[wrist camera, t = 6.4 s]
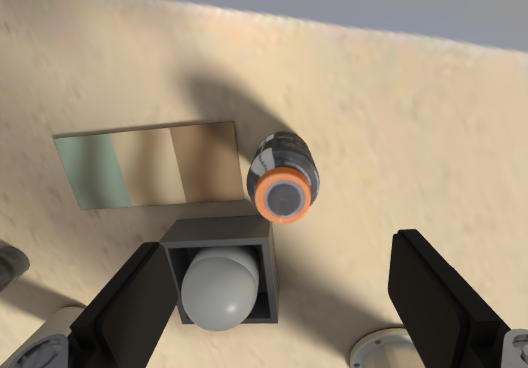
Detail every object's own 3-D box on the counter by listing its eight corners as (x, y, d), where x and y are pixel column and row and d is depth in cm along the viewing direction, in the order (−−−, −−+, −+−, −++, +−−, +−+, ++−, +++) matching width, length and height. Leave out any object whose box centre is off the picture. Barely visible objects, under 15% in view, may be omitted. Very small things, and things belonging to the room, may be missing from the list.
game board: (233, 121, 27) (232, 121, 26) (244, 197, 30) (243, 199, 29) (57, 138, 29) (52, 139, 28) (84, 207, 32) (80, 209, 32)
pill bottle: (248, 142, 27) (225, 176, 17) (299, 122, 26) (309, 144, 16) (268, 189, 29) (259, 246, 19) (317, 172, 28) (336, 222, 18)
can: (57, 297, 38) (-37, 382, 27) (104, 309, 38) (31, 399, 27) (59, 330, 41) (-25, 420, 30) (103, 341, 41) (36, 436, 30)
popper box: (271, 214, 30) (268, 237, 26) (278, 291, 35) (278, 323, 30) (144, 221, 32) (120, 244, 27) (166, 294, 36) (148, 324, 32)
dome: (257, 233, 30) (247, 284, 22) (264, 288, 33) (257, 350, 25) (190, 236, 31) (158, 286, 23) (202, 290, 34) (178, 350, 26)
